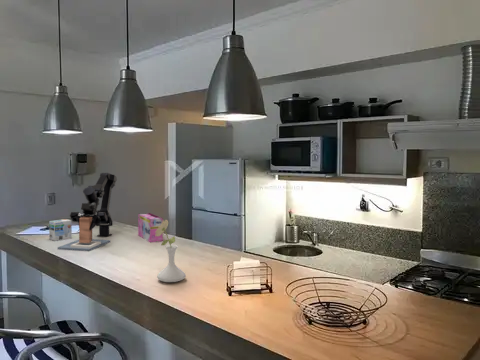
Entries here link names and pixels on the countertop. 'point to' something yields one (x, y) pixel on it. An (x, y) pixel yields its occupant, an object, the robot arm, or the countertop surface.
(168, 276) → the flower in vase
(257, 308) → the countertop surface
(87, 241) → the terracotta block
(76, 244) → the board
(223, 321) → the countertop surface
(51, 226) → the light bulb box
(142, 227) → the gum box
